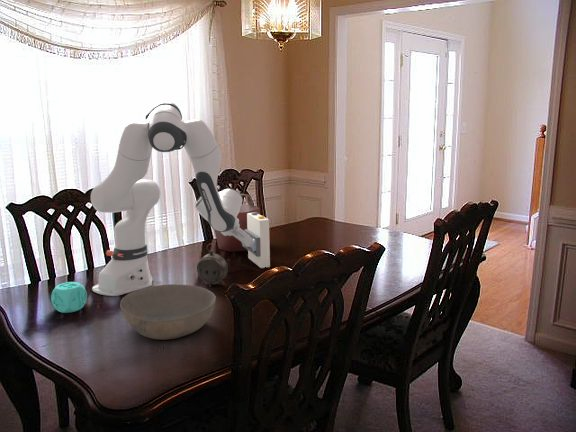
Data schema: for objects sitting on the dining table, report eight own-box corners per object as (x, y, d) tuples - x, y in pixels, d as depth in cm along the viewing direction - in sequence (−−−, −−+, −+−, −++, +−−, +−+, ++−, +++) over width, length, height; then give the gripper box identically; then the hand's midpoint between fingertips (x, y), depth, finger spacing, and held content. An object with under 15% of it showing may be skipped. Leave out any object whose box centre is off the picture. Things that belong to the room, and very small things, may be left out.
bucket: (247, 238, 263) (245, 189, 258) (272, 247, 246) (270, 194, 240) (203, 246, 249) (200, 194, 244) (226, 256, 231) (224, 201, 226)
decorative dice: (69, 314, 169) (66, 291, 168) (52, 310, 173) (49, 287, 171) (88, 306, 176) (86, 283, 175) (71, 302, 180) (69, 280, 178)
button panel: (257, 268, 214) (256, 219, 210) (245, 258, 228) (243, 211, 224) (270, 266, 216) (268, 217, 212) (256, 256, 230) (255, 210, 226)
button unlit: (245, 248, 220) (244, 236, 219) (241, 245, 225) (241, 234, 224) (249, 247, 221) (248, 236, 220) (245, 244, 226) (245, 233, 225)
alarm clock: (228, 284, 196) (227, 242, 192) (223, 289, 191) (221, 246, 187) (202, 282, 199) (199, 240, 195) (195, 286, 193) (193, 244, 190)
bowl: (106, 329, 158) (103, 298, 156) (184, 304, 176) (182, 276, 174) (154, 360, 138) (151, 324, 136) (235, 328, 157) (234, 297, 155)
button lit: (255, 252, 214) (254, 240, 213) (251, 249, 218) (250, 237, 217) (259, 251, 215) (259, 240, 213) (255, 249, 219) (254, 237, 218)
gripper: (241, 224, 200) (265, 245, 206) (226, 214, 219) (249, 234, 225) (230, 236, 200) (255, 258, 205) (216, 225, 218) (239, 245, 224)
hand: (251, 245), depth 215 cm, fingers closed, pressing on button lit
